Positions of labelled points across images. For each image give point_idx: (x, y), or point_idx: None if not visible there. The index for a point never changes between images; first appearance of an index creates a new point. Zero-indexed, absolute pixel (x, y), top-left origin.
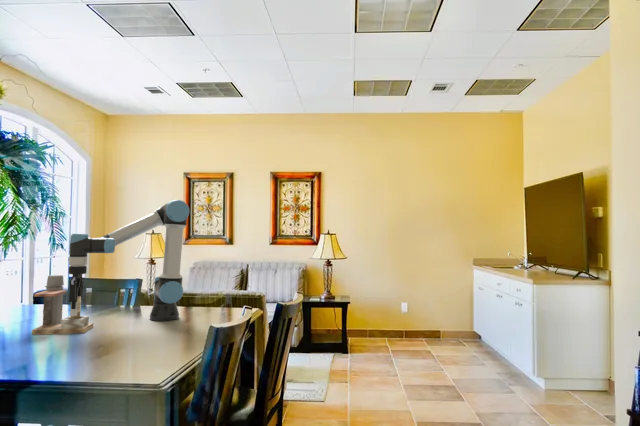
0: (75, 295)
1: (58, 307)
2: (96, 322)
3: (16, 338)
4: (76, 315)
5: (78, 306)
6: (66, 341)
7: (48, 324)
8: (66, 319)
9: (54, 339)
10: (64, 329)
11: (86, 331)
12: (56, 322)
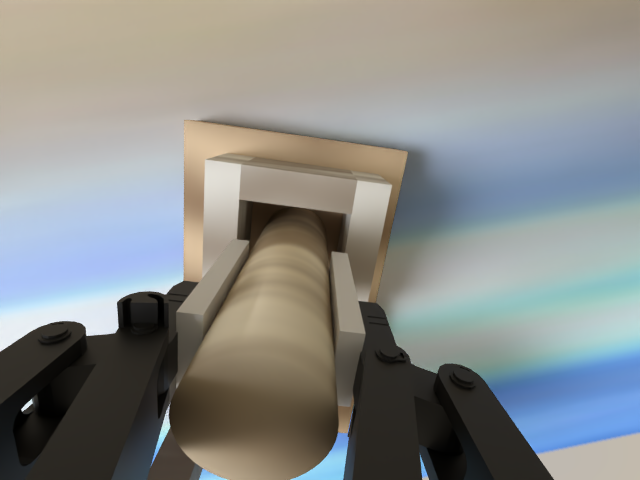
0: (513, 455)
1: None
2: (4, 123)
3: None
4: (347, 255)
5: (316, 285)
6: (618, 217)
7: None
8: None
9: (523, 289)
10: (379, 282)
11: (361, 144)
12: None
